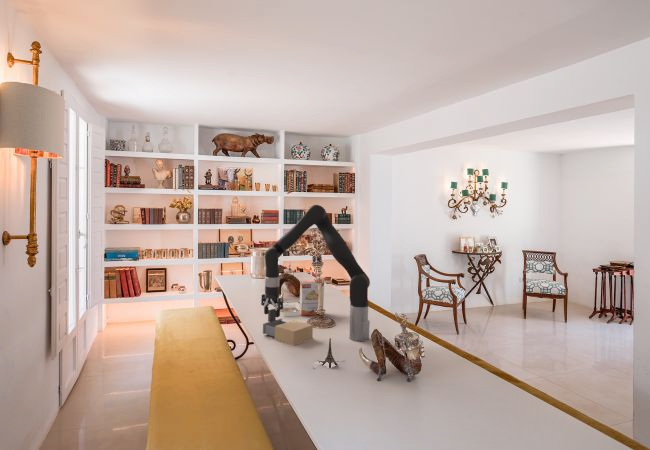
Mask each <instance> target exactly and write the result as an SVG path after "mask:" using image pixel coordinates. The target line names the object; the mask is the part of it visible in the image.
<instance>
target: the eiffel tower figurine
mask: <svg viewBox="0 0 650 450" xmlns="http://www.w3.org/2000/svg"><path fill="white" fill-rule="evenodd" d="M328 340H329V342H328V352H327V356H326V358H324V360H325V361H319V360H318V361H319V363H320V362H322V363H323V364H322V367H324V366H323V365H324V364H325V363H326V362H328V363H329V368H328V369H330V368H331V363H334V364H335V365H338V364H337V361H335V358H334V357H333V353H332V352H333V351H332V338H331V337H329V339H328ZM331 369H332V368H331Z"/></svg>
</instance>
